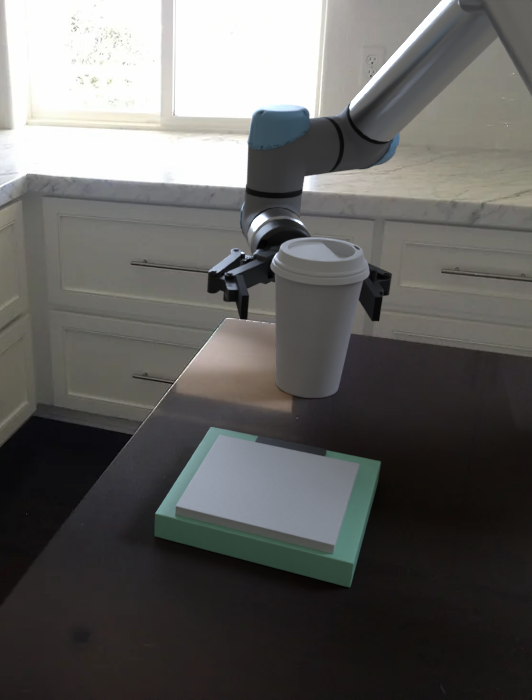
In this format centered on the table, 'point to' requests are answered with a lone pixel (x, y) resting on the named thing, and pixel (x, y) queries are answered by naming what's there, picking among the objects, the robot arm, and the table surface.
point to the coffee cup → (315, 312)
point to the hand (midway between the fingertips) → (310, 308)
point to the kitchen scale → (272, 504)
